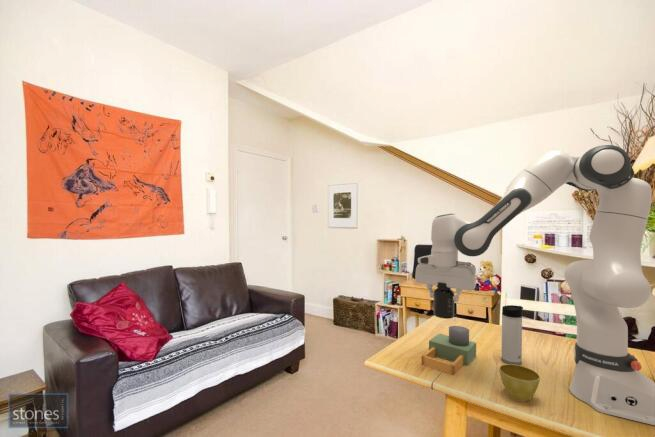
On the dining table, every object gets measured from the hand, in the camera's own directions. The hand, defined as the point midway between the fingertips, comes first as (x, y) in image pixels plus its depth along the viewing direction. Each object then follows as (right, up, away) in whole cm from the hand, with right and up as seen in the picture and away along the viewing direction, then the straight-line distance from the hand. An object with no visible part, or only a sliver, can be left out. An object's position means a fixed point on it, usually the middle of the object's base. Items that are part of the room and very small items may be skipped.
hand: (443, 299), depth 110 cm
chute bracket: (0, -23, 0) cm, 23 cm away
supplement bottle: (0, -6, 0) cm, 6 cm away
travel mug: (+25, -23, +2) cm, 35 cm away
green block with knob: (+6, -23, +7) cm, 25 cm away
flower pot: (+14, -23, -20) cm, 34 cm away
